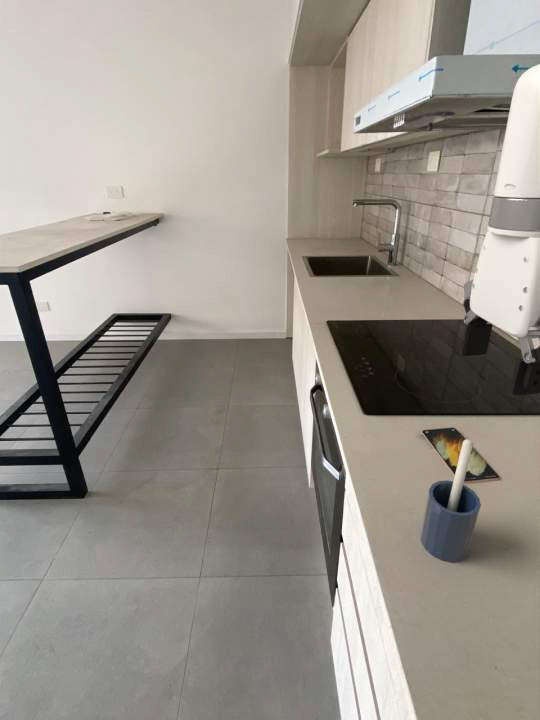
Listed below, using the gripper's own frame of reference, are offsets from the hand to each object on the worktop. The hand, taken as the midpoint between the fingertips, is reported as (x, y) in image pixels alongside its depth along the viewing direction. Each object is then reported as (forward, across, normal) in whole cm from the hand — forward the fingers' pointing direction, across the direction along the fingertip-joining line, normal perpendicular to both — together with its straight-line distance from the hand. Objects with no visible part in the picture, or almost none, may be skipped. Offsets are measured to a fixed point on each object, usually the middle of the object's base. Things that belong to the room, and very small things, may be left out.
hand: (496, 371), depth 46 cm
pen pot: (+26, -2, +3) cm, 27 cm away
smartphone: (+27, +17, -9) cm, 33 cm away
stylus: (+26, -2, +3) cm, 26 cm away
